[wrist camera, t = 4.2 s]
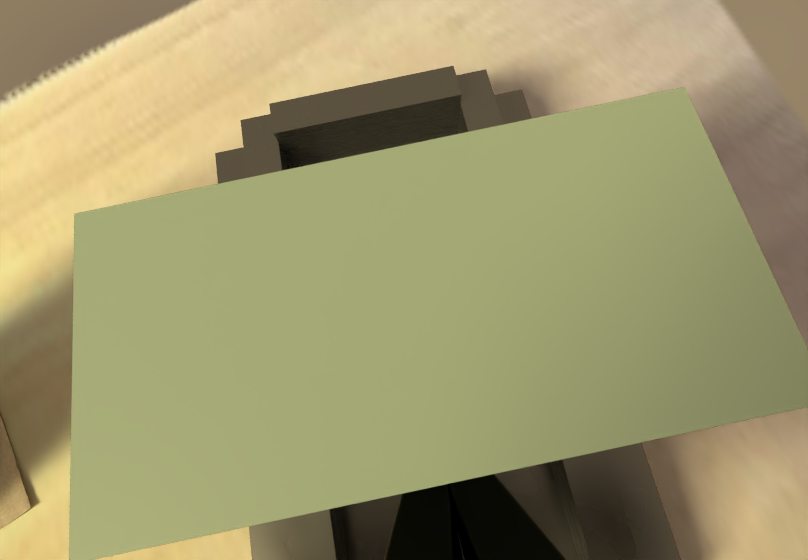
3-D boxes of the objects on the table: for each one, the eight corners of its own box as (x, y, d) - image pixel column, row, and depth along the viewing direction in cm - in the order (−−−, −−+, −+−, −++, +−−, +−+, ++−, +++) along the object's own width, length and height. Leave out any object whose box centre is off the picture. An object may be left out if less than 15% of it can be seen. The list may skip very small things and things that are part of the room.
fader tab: (538, 450, 13) (1005, 610, 3) (347, 491, 13) (-8, 834, 2) (494, 292, 15) (674, -37, 4) (322, 328, 15) (31, 96, 4)
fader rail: (668, 605, 14) (759, 677, 10) (290, 686, 14) (236, 792, 10) (512, 122, 19) (533, 48, 15) (237, 179, 19) (188, 120, 15)
